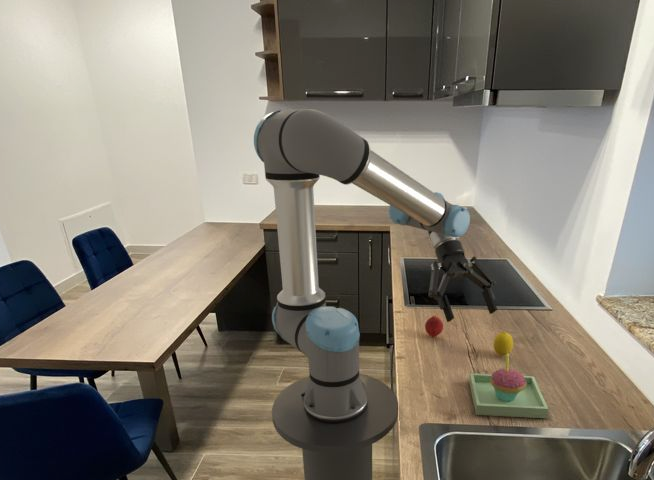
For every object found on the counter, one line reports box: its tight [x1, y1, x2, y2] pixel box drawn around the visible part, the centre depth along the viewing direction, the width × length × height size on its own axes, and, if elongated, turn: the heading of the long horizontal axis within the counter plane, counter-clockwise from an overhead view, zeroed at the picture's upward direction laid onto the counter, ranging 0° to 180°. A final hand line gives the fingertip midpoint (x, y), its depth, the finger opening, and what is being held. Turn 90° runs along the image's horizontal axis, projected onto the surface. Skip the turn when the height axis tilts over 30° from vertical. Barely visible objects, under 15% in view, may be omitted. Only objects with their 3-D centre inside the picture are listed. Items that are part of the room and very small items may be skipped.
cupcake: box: [491, 351, 526, 401], centre depth 110 cm, size 9×8×12 cm
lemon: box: [493, 331, 514, 357], centre depth 132 cm, size 6×6×8 cm
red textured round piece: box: [424, 313, 444, 338], centre depth 143 cm, size 6×6×8 cm
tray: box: [468, 372, 549, 419], centre depth 112 cm, size 17×15×3 cm
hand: (472, 316), depth 117 cm, fingers open, 13 cm apart
